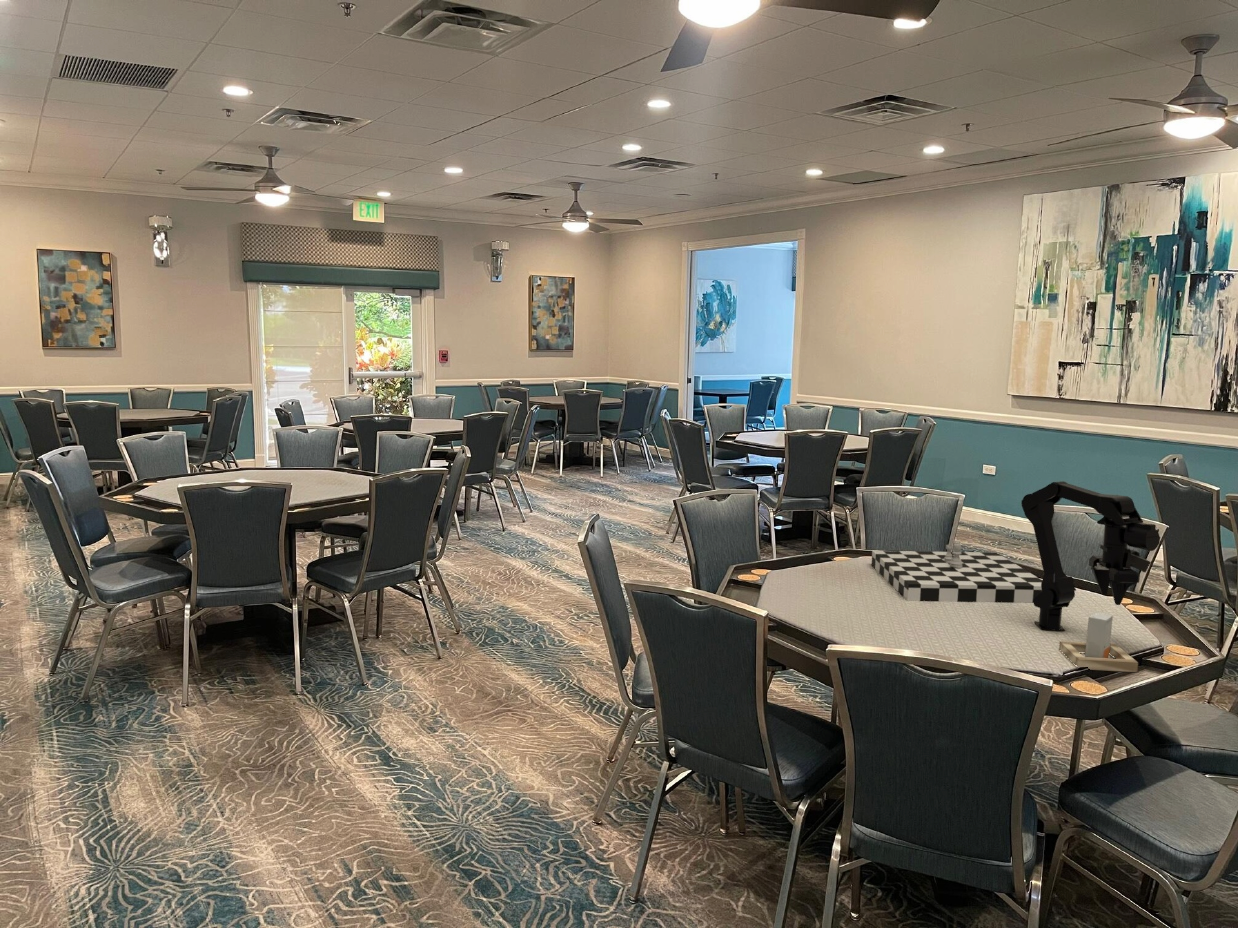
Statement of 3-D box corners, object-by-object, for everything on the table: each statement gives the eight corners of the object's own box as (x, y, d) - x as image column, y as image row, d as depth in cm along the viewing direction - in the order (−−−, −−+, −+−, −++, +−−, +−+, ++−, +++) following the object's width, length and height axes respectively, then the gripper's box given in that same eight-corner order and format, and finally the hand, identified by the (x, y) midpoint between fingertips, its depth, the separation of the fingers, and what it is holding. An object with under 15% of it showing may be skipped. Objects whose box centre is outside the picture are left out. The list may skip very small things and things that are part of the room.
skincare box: (1102, 665, 231) (1106, 620, 229) (1084, 661, 234) (1087, 616, 232) (1109, 659, 235) (1113, 615, 233) (1091, 655, 238) (1095, 611, 236)
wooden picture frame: (1058, 650, 242) (1059, 641, 242) (1114, 652, 240) (1115, 643, 240) (1078, 668, 228) (1079, 659, 228) (1137, 672, 226) (1138, 662, 226)
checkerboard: (1051, 604, 285) (1054, 559, 283) (907, 602, 286) (910, 556, 284) (995, 568, 330) (998, 528, 328) (871, 566, 331) (873, 527, 329)
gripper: (1163, 552, 231) (1158, 611, 233) (1132, 536, 249) (1128, 591, 251) (1117, 550, 232) (1112, 609, 234) (1090, 535, 251) (1085, 590, 253)
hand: (1110, 599), depth 243 cm, fingers open, 9 cm apart
